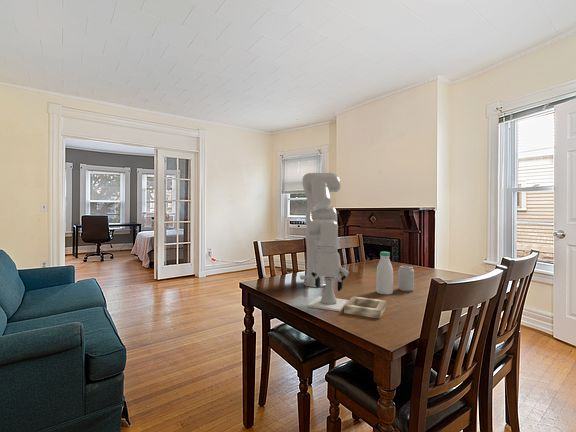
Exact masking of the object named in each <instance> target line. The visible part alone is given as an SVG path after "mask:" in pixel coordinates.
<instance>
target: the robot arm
mask: <svg viewBox="0 0 576 432" xmlns="http://www.w3.org/2000/svg"><path fill="white" fill-rule="evenodd" d="M302 188H303V191H304V193H305V197H306V212H305V213H306V214H305V227H306V229H305V230H304V231H305V232H304V237H305V244H306V274H305V275H303V274H302V275H299V276H300V277H299V279H300V280H302V281H303V280H304V281H303V285H304V286H306V287H311V288H316V289H319V288H322V287H325V285H326V281H325V277H326V278H336V279H337V291H338V292H340V291H341V290H342V289H343V282H344V280H345V279H346V278H347V277H348V275H349V274H350V271H348V270H347V269H346V268H344V267H342V265H341V255H340V252H338V250H339V249H338V248H339V246H338V244H339V243H338V242H339V224H338V213H337V212H338V211H337V210H336V208H335V207H334V206H330V205H331V204H332V199H331V193H337V192H339V191H340V190H341V179H340V177H339V176H338V175H337V174H335V173H333V172H332V173H331V172H308V173H305V174H304V175H303V176H302ZM342 273H343V276H342V275H341V274H342Z"/></svg>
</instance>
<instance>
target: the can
mask: <svg viewBox="0 0 576 432" xmlns="http://www.w3.org/2000/svg"><path fill="white" fill-rule="evenodd" d="M397 275H398V276H397V277H398V278H397V288H398V290H400V291H402V292H412V291H413V290H415V270H414V267H413V266H410V265H400V266H399V268H398V272H397Z"/></svg>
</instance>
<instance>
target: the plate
mask: <svg viewBox="0 0 576 432" xmlns="http://www.w3.org/2000/svg"><path fill="white" fill-rule="evenodd" d="M322 296H323V295H322ZM322 296H320V295H318V296H317V297H316V298H314V299H313V300H312V301H310V302H309V303H308V304H307V308H308V307H309V308H315V309H322V310H326V311H327V310H328V311H335V312H341V311H342V310H344V305H345V304H346V303H347V302H348V301H349V300H350V299H343V298H337V297H336V300H337V303H336V304H323V303H322V302H320V301H321V298H322Z"/></svg>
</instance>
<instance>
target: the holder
mask: <svg viewBox="0 0 576 432" xmlns="http://www.w3.org/2000/svg"><path fill="white" fill-rule="evenodd" d="M348 300H349V301H348V302H347V303H346V304H345V305H344V307H343V314H349V315H355V316H361V317H367V318H375V319H380V320H381V318H382V316H383V315H384V312H385V310H386V308H387V300H383V299H378V298H370V297H369V298H368V297H360V296H351V297H350V298H349V299H348Z"/></svg>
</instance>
